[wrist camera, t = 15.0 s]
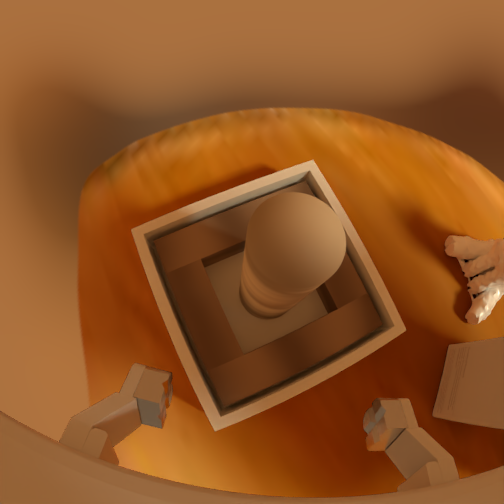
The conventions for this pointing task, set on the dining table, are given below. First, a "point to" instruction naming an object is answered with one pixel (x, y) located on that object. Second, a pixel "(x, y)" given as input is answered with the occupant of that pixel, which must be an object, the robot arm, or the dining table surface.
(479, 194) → the dining table surface
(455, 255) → the seated beast figurine
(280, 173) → the open box
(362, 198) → the dining table surface
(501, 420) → the supplement box
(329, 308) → the bore plate
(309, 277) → the birch peg
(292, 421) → the dining table surface
